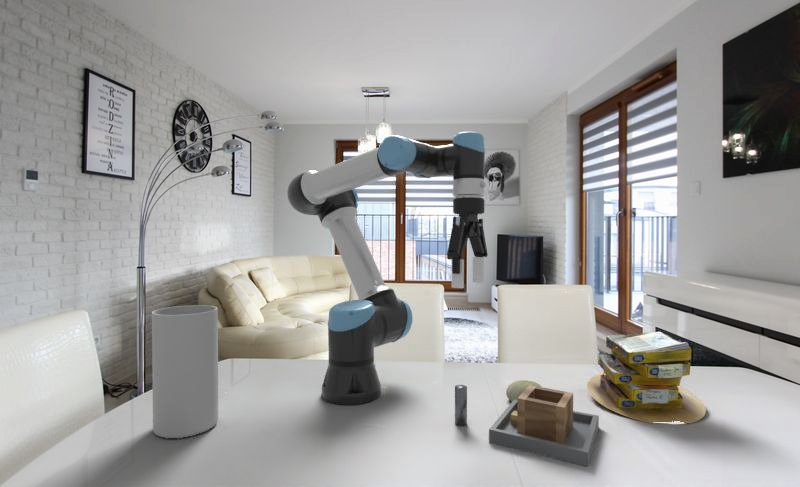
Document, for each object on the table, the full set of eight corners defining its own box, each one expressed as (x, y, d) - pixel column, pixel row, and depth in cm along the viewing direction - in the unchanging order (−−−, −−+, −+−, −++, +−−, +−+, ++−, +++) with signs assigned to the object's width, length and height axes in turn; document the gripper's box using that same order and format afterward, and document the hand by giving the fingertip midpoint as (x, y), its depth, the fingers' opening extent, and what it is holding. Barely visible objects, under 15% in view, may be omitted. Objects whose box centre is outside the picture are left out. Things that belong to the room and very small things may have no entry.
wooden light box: (564, 444, 82) (564, 407, 82) (505, 429, 88) (505, 395, 88) (573, 426, 89) (573, 393, 89) (518, 414, 95) (518, 383, 95)
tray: (488, 441, 85) (489, 429, 85) (514, 409, 100) (514, 399, 100) (587, 466, 76) (587, 452, 76) (598, 427, 91) (598, 415, 91)
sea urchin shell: (552, 402, 100) (527, 377, 101) (527, 424, 101) (503, 399, 102) (547, 388, 109) (524, 365, 110) (524, 409, 110) (501, 385, 111)
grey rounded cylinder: (452, 424, 93) (453, 387, 92) (457, 419, 95) (457, 383, 95) (464, 427, 91) (464, 389, 91) (468, 422, 94) (468, 386, 93)
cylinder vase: (231, 418, 95) (230, 306, 95) (186, 444, 84) (185, 317, 83) (187, 411, 100) (186, 304, 99) (138, 434, 88) (137, 313, 87)
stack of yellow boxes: (727, 430, 90) (728, 350, 90) (600, 419, 95) (601, 344, 95) (678, 389, 114) (679, 326, 114) (579, 382, 119) (579, 322, 119)
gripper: (463, 192, 91) (463, 291, 92) (499, 200, 113) (499, 281, 113) (432, 194, 95) (432, 289, 96) (472, 201, 117) (472, 279, 117)
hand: (468, 285), depth 104 cm, fingers open, 13 cm apart
